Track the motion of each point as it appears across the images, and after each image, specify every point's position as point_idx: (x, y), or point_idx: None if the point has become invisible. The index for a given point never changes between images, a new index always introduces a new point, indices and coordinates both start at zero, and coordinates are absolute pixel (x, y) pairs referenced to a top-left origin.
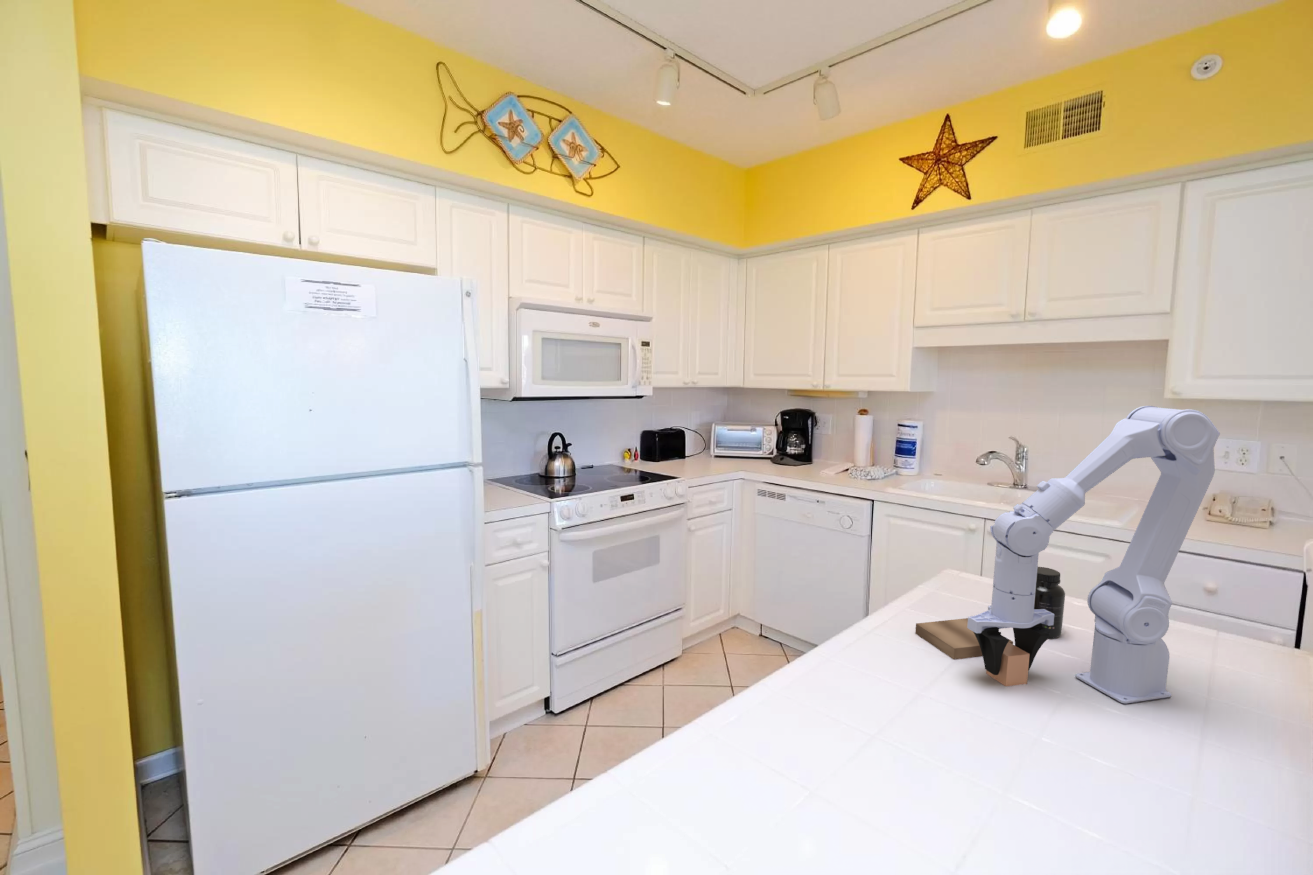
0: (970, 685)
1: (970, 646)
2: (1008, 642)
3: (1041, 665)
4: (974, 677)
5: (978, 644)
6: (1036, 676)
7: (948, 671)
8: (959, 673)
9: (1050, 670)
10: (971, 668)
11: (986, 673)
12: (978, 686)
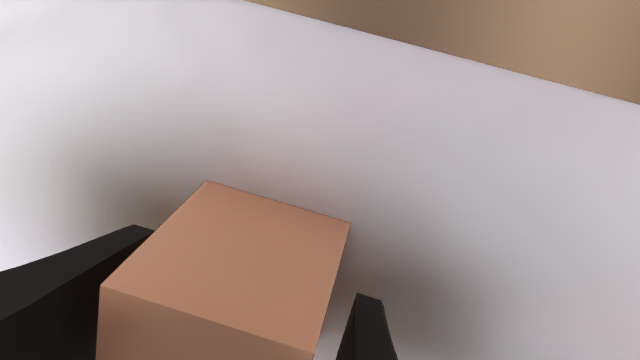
0: (26, 209)
1: (264, 2)
2: (306, 351)
3: (630, 298)
4: (105, 175)
5: (364, 11)
6: (442, 335)
7: (11, 60)
8: (57, 107)
9: (602, 348)
10: (171, 104)
11: (206, 183)
12: (58, 233)
